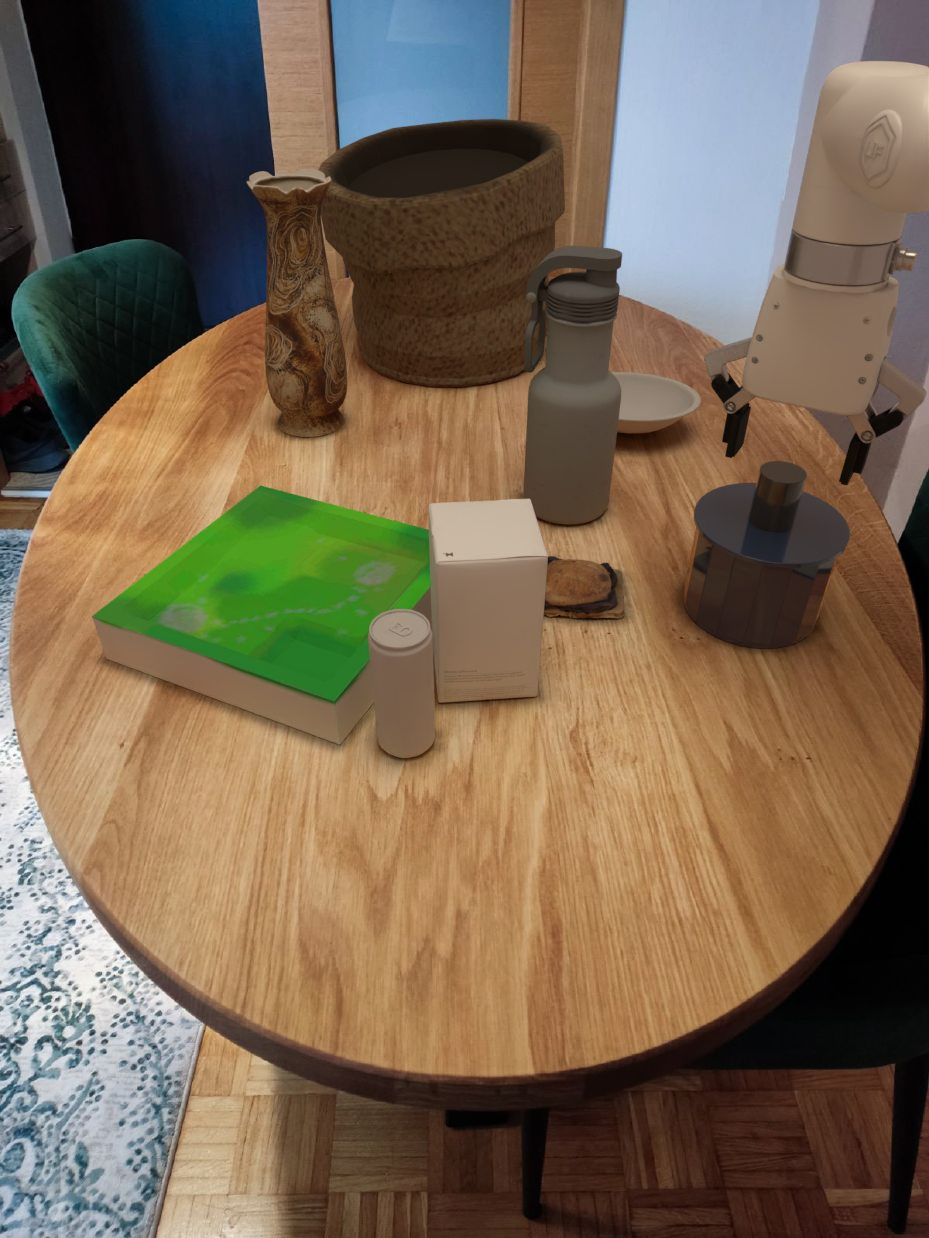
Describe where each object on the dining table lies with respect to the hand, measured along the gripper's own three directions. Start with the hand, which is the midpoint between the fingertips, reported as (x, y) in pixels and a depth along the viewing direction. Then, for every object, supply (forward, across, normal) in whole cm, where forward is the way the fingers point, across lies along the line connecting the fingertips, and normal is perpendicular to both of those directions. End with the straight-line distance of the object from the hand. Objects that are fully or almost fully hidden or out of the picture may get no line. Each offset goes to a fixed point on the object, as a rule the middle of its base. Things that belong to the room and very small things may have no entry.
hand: (788, 464), depth 76 cm
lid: (+6, 0, 0) cm, 7 cm away
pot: (+15, +61, -40) cm, 74 cm away
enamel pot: (+16, +1, 0) cm, 16 cm away
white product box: (+16, +19, +20) cm, 32 cm away
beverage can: (+16, +20, +32) cm, 41 cm away
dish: (+15, +26, -30) cm, 42 cm away
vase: (+15, +63, -10) cm, 65 cm away
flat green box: (+16, +38, +24) cm, 47 cm away
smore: (+16, +17, +6) cm, 24 cm away
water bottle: (+16, +25, -8) cm, 30 cm away
